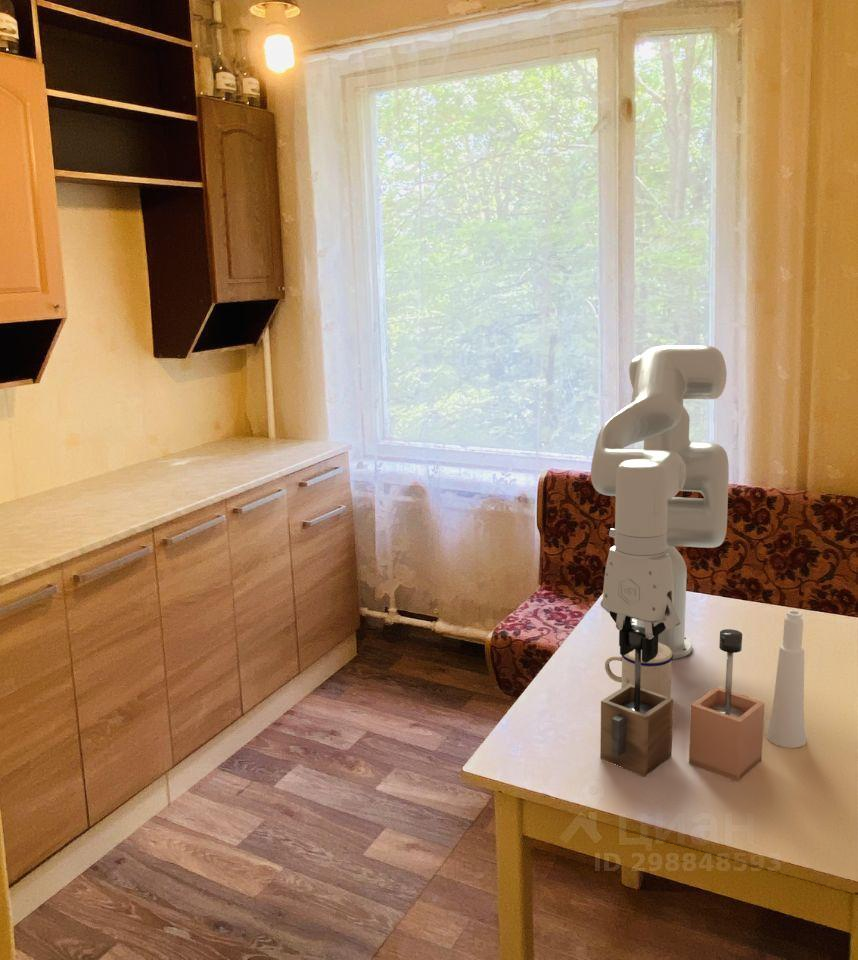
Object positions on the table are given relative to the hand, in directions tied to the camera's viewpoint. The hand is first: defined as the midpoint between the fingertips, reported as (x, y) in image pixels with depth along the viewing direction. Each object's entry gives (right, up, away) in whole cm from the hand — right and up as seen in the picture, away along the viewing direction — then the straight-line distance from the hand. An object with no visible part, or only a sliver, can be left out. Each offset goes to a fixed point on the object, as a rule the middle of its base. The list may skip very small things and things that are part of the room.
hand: (638, 654), depth 136 cm
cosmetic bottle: (+26, -15, +8) cm, 31 cm away
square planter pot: (+14, -17, +2) cm, 22 cm away
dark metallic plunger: (0, -10, +2) cm, 10 cm away
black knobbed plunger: (+14, -10, 0) cm, 17 cm away
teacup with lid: (+6, -12, +24) cm, 28 cm away
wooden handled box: (+1, -17, +4) cm, 18 cm away
